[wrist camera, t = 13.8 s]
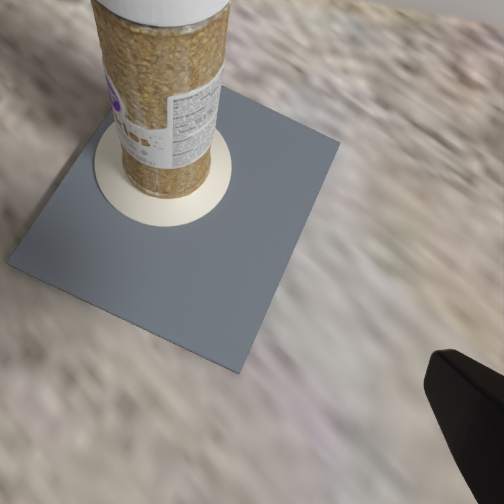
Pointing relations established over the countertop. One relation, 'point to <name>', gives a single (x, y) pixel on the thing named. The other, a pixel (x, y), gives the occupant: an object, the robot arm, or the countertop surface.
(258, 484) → the countertop surface
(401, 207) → the countertop surface
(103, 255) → the board
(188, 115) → the sprinkles bottle
